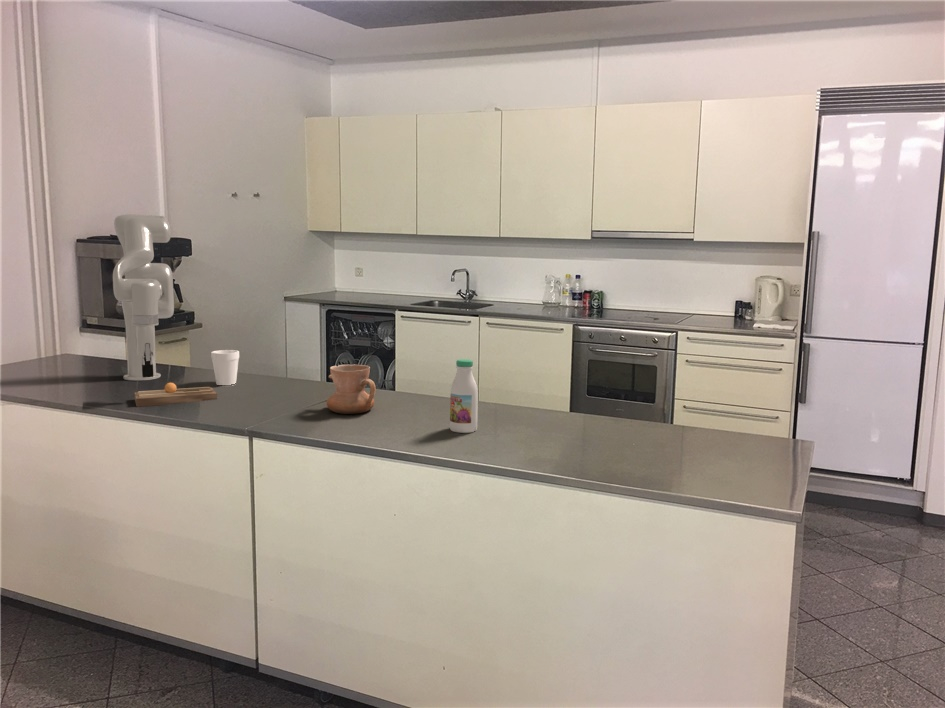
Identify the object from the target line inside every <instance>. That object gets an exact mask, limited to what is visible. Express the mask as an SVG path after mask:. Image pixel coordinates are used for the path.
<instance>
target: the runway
mask: <svg viewBox="0 0 945 708" xmlns="http://www.w3.org/2000/svg"><path fill="white" fill-rule="evenodd" d="M217 394H218V393H217V392H216V391H215V389H214V388H213V387H212V386H202V387H188V388H187V387H186V388H176V391H175V392H174V393H167V392H166V391H165V389H156V390H154V389H153V390H140V391H135V392H134V402H135V405H136V407H137V408H138V407H152V406H153V407H154V406H163V405H164V406H165V405H173V404H174V403H176V404H182V403H194V402H204V401H212V400H213V401H214V400H215V401H216V400H217V399H218V395H217ZM174 405H175V404H174Z"/></svg>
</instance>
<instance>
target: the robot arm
mask: <svg viewBox="0 0 945 708" xmlns="http://www.w3.org/2000/svg"><path fill="white" fill-rule="evenodd" d="M113 222H114V223H113V225H114V230H115V233H116V236H117V239H118V241H119V242H120V243H119V244H120V245H121V248H122V251H123V256H122V257H121V258H120V259H119V260H118V262H117V263H115V266H114V268H113V271H112V288H113V289H112V290H113V295H114V297H115V299H116V300H117V301H118V302H121V307H122V312H123V318H124V325H125V336H126V337H125V338H126V357H127V359H126V360H127V361H126V362H127V374H124V375H123V379H124V380H125V381H132V382H133V381H134V382H135V381H151V380H155V379H159V378H161V376H162V375H161V373H160V372H157V365H156V361H157V360H156V331H155V330H156V328H155V326H159V323H160V322H159V319H168V318H169V319H170V318H172V317H173V315H174V313H175V312H174V311H175V300H174V299H175V297H174V296H175V295H174V279H173V277H174V276H173V271H172V269H171V267H170V266H169V265H168V264H167V263H162V262H153V260H154V257H155V254H154V253H155V252H154V243H160V244H161V243H164V244H165V243H168V242H170V240H171V235H172V229H171V225H170V223H169V220H168V218H167V217H166V216H164V215H152V214H151V215H146V214H145V215H144V214H121V215H117V216H116V217H115V219H114V220H113ZM123 276H124V278H123Z"/></svg>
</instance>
